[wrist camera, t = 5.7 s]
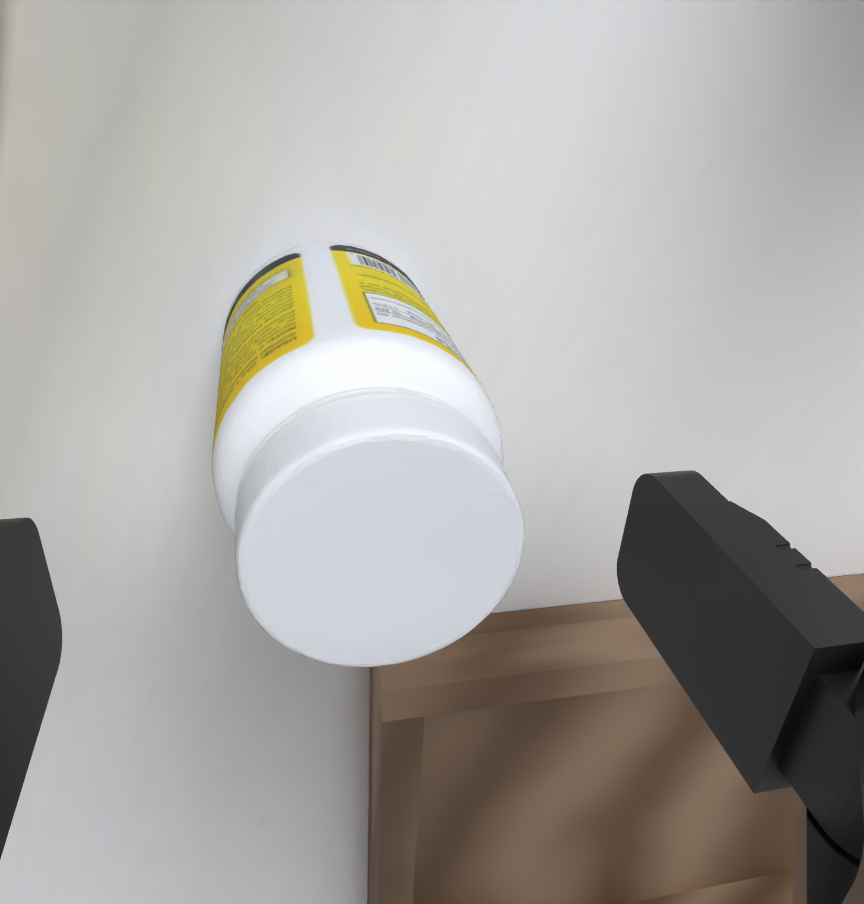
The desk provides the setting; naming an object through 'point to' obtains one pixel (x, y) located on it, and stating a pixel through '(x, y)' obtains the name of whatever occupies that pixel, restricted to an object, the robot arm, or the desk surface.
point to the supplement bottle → (358, 463)
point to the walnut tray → (563, 774)
